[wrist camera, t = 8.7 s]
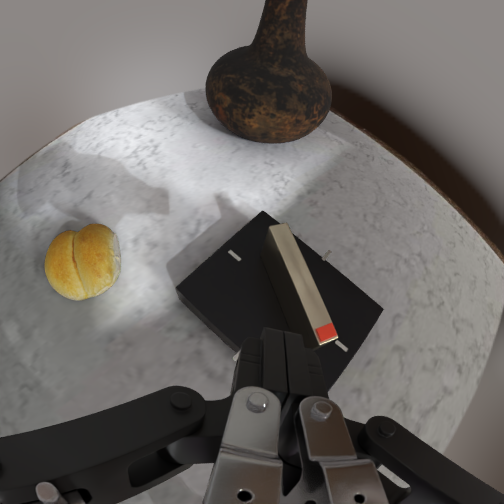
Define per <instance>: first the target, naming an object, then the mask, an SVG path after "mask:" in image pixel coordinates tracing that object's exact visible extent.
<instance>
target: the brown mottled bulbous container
mask: <svg viewBox="0 0 504 504" xmlns="http://www.w3.org/2000/svg"><path fill="white" fill-rule="evenodd" d="M306 8H307V0H266V1H265V6H264V9H263V13H262V16H261V20H260V24H259V27H258V30H257V33H256V35H255V38H254V40H253V42H252V44H251V45H249V46H244V47H240V48H237V49H235V50H232V51H230V52H228V53H226V54H225V55H223V56H222V57H220V59H218V60H217V62H215V64H214V65H213V66H212V68H211V70H210V72H209V74H208V76H207V80H206V97H207V101H208V104H209V107H210V108H211V110H212V112H213V114H214V115H215V116H216V118H217V119H218V120H219V121H220V122H221V123H222V125H223V126H225V127H226V128H227V129H229V130H230V131H232V132H233V133H235V134H237V135H239V136H241V137H243V138H245V139H248V140H251V141H255V142H261V143H285V142H290V141H294V140H297V139H300V138H302V137H304V136H306V135H308V134H309V133H311V132H312V131H313V130H315V129H316V128H317V127H318V126H319V125H320V124H321V123H322V122H323V120H324V119H325V118H326V116H327V114H328V112H329V109H330V106H331V100H332V92H331V87H330V83H329V81H328V78H327V76H326V75H325V73H324V72H323V71H322V69H321V68H320V67H319V66H318V65H317V64H316V63H315V62H314V61H312V60H311V59H309V58H308V56H307V54H306V48H305V19H306Z"/></svg>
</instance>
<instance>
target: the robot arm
mask: <svg viewBox="0 0 504 504" xmlns="http://www.w3.org/2000/svg"><path fill="white" fill-rule="evenodd" d="M201 463H214V465H213V468H212V472H211V475H210V479H209V482H208V486H207V489H206V492H205V496H204V499H203V502H202V504H504V494H502V493H500V492H499V491H497V490H495V489H494V488H492V487H491V486H489V485H487V484H485V483H484V482H483V481H481V480H480V479H478V478H476V477H475V476H473V475H472V474H470V473H469V472H467V471H466V470H464V469H462V468H461V467H460V466H458V465H457V464H455V463H454V462H452V461H451V460H449V459H448V458H446V457H445V456H443V455H442V454H441V453H439V452H438V451H436V450H435V449H433V448H432V447H430V446H429V445H428V444H426V443H425V442H423V441H422V440H421V439H419V438H418V437H416V436H415V435H414V434H412V433H411V432H409V431H408V430H407V429H405V428H404V427H403V426H401V425H400V424H398V423H397V422H396V421H394V420H393V419H391V418H388V417H385V416H375V417H372V418H370V419H369V420H368V421H367V423H366V424H362V423H359V422H355V421H352V420H349V419H346V418H344V417H343V414H342V412H341V409H340V408H339V406H338V405H337V404H335V403H334V402H333V401H331V400H329V397H328V393H327V388H326V384H325V380H324V376H323V372H322V368H321V363H320V359H319V357H318V356H317V354H316V353H315V352H314V351H313V349H310V348H305V347H304V342H303V337H302V335H301V334H296V333H291V332H286V331H281V330H276V329H271V328H266V327H264V328H263V331H262V334H261V337H260V339H258V338H253V337H248V338H247V339H245V340H244V341H243V342H242V345H241V349H240V352H239V356H238V360H237V363H236V367H235V371H234V376H233V383H232V388H231V395H230V396H229V397H227V398H225V399H222V400H215V401H205V400H204V398H203V397H202V396H201V395H200V394H199V393H198V392H196V391H194V390H192V389H190V388H187V387H183V386H171V387H167V388H164V389H161V390H159V391H156V392H154V393H151V394H149V395H146V396H143V397H140V398H138V399H135V400H132V401H130V402H127V403H124V404H121V405H118V406H115V407H112V408H109V409H106V410H103V411H100V412H97V413H94V414H91V415H88V416H84V417H81V418H78V419H74V420H71V421H67V422H64V423H60V424H57V425H53V426H49V427H45V428H41V429H37V430H33V431H29V432H25V433H20V434H16V435H11V436H6V437H1V438H0V504H117V503H119V502H121V501H124V500H126V499H128V498H131V497H133V496H135V495H137V494H139V493H142V492H144V491H146V490H148V489H150V488H152V487H154V486H156V485H158V484H160V483H162V482H164V481H166V480H168V479H170V478H172V477H173V476H175V475H177V474H179V473H181V472H183V471H184V470H186V469H188V468H190V467H191V466H192V465H193V464H201ZM382 464H383V465H384V466H385V467H386V468H388V469H389V470H390V471H392V472H393V473H394V474H396V475H397V476H398V477H400V478H401V479H402V480H404V481H405V482H406V483H408V484H409V485H410V487H408V488H401V487H399V486H397V485H396V484H395V483H393V482H392V481H391V480H390V479H388V478H387V477H386V476H384V475H383V474H382V473H381V472H379V471H378V470H377V469H378V468H379V467H380V466H381V465H382Z"/></svg>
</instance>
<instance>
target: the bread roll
mask: <svg viewBox="0 0 504 504" xmlns="http://www.w3.org/2000/svg"><path fill="white" fill-rule="evenodd" d="M120 271H121V255H120V248H119V241H118V238H117V235H116V233H113V232H112V231H111V230H110V229H109V228H108V227H106V226H104V225H101V224H89V225H88V226H86V227H84V228H83V229H81V230H80V231H79V232H76V231H71V230H69V231H65V232H63V233H61V234H59V235H58V236H57V237H56V238H55V239H54V240H53V241H52V243H51V244H50V246H49V249H48V251H47V254H46V258H45V273H46V276H47V279H48V281H49V283H50V284H51V286H52V287H53V288H54V289H55V290H56V291H57V292H58V293H59V294H60V295H63V296H64V297H66V298H68V299H72V300H84V299H86V298H89V297H95V296H98V295H100V294H102V293H104V292H105V291H107V290H108V289H109V288H110V287H111V286H112V285H113V284H114V283H115V281H116V280H117V278H118V276H119V274H120Z"/></svg>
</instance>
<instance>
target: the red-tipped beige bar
mask: <svg viewBox="0 0 504 504" xmlns="http://www.w3.org/2000/svg"><path fill="white" fill-rule="evenodd" d="M260 256H261V258H262V261H263V263H264V266H265V268H266V271H267V273H268V276H269V278H270V281H271V283H272V286H273V288H274V291H275V293H276V296H277V298H278V301H279V303H280V306H281V308H282V311H283V313H284V316H285V318H286V321H287V323H288V326H289V329H290V331H291V333H296V334H301V335H302V337H303V342H304V347H305V348H310V349H313V351H314V350H316V349H318V348H320V347H322V346H324V345H326V344H328V343H330V342H331V341H333V340H335V339H337V338H338V335H337V333H336V330H335V328H334V326H333V323H332V321H331V319H330V316H329V314H328V312H327V309H326V307H325V305H324V302H323V300H322V298H321V296H320V293H319V291H318V289H317V287H316V284H315V282H314V280H313V278H312V275H311V273H310V271H309V269H308V267H307V264H306V262H305V260H304V258H303V256H302V254H301V251H300V249H299V247H298V245H297V243H296V241H295V238H294V236H293V234H292V232H291V230H290V228H289V226H288V224H287V223H282V224H278V225H274V226H270V227H269V229H268V232H267V235H266V239H265V242H264V245H263V248H262V252H261V255H260Z"/></svg>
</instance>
